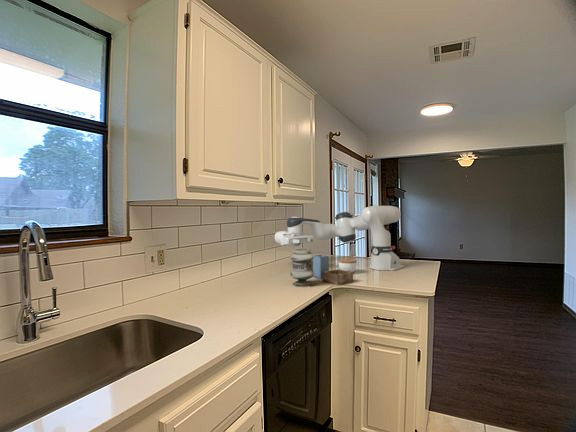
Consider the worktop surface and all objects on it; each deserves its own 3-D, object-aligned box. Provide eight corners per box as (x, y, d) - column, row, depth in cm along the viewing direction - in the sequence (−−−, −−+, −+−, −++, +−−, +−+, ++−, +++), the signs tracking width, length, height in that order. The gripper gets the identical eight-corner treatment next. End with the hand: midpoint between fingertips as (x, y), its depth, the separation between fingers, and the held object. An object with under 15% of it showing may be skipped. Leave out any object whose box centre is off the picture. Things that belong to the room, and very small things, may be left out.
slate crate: (321, 275, 186) (321, 254, 185) (328, 277, 181) (328, 255, 180) (313, 277, 182) (313, 255, 182) (320, 279, 177) (320, 257, 177)
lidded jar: (358, 274, 187) (358, 258, 187) (339, 274, 187) (339, 258, 187) (355, 271, 198) (355, 255, 197) (337, 271, 198) (337, 255, 198)
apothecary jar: (286, 285, 163) (285, 249, 163) (296, 280, 174) (296, 247, 174) (308, 288, 158) (308, 251, 157) (318, 283, 168) (317, 248, 168)
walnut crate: (337, 278, 179) (337, 269, 178) (352, 281, 170) (352, 272, 170) (322, 281, 172) (322, 271, 172) (337, 285, 163) (337, 275, 163)
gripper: (305, 242, 208) (319, 244, 197) (278, 245, 196) (292, 247, 185) (305, 232, 208) (319, 234, 197) (278, 235, 196) (292, 236, 185)
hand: (306, 240), depth 191 cm, fingers open, 8 cm apart
